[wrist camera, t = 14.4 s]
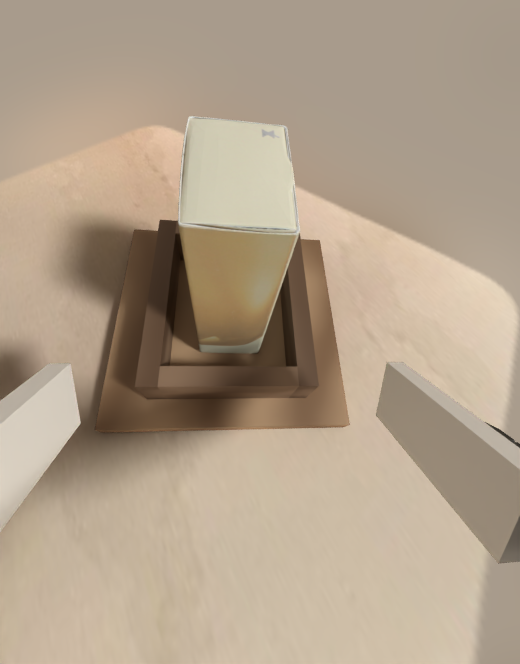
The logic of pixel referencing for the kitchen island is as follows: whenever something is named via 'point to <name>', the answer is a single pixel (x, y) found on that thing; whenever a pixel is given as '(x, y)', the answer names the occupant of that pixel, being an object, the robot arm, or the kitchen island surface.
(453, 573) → the kitchen island surface
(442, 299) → the kitchen island surface
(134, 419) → the walnut box stand
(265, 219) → the skincare box
